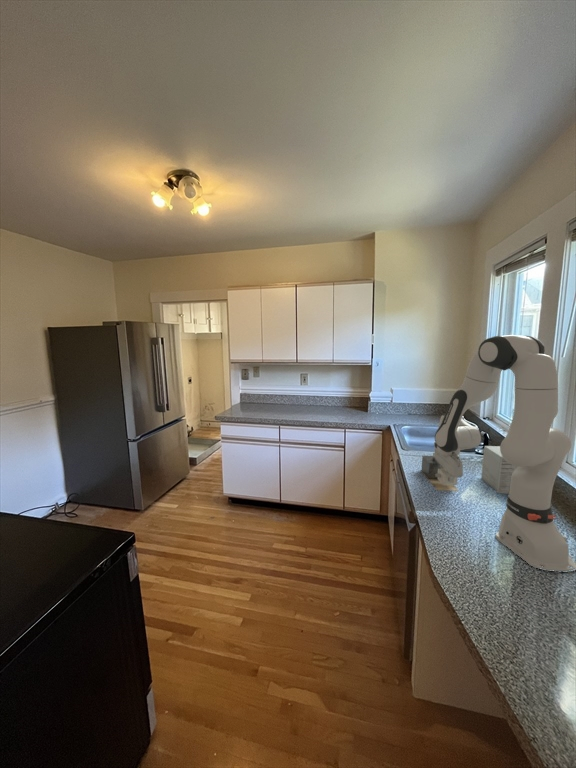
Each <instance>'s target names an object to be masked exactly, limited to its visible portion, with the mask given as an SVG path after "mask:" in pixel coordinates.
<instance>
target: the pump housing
mask: <svg viewBox="0 0 576 768" xmlns="http://www.w3.org/2000/svg"><path fill="white" fill-rule="evenodd" d="M435 476H436V477H438V478H437V479H438V480H439V481H440V482H441V483H442V484H443V485H454V486H457V485H458V478H457V477H455V478H454V482H453V483H450V482H449V481H448V477H450V475H449V472H448V471H446V470H445V469H438V474H435Z"/></svg>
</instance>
